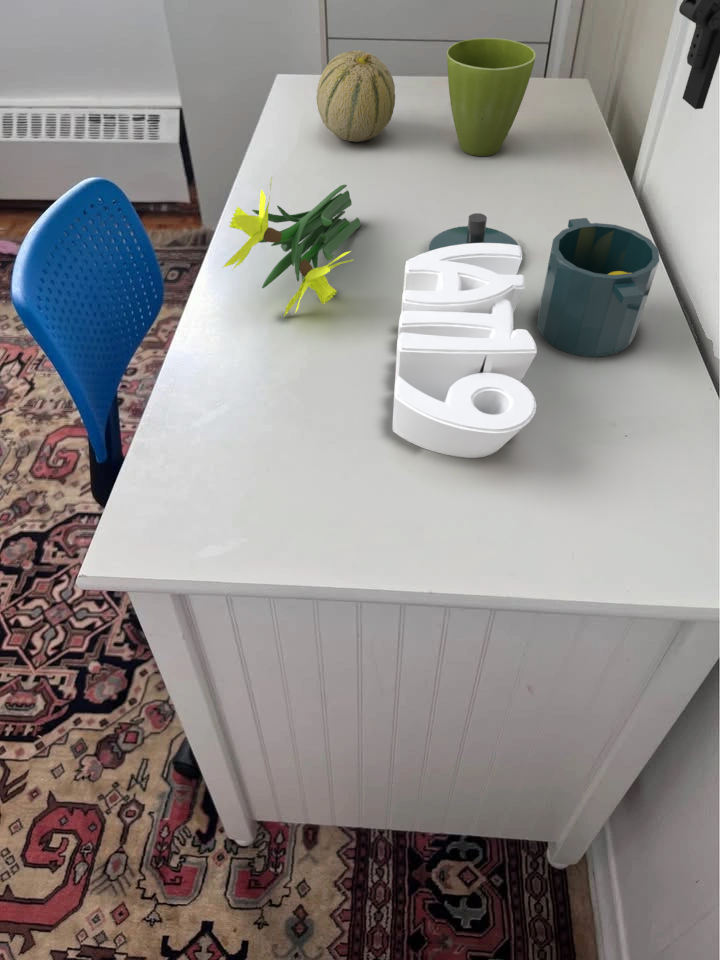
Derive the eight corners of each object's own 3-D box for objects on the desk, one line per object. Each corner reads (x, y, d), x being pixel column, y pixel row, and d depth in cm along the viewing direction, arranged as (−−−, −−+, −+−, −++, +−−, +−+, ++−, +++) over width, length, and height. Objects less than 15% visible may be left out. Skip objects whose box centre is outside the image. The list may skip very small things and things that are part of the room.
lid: (504, 229, 113) (509, 191, 109) (531, 276, 104) (538, 236, 100) (419, 237, 112) (421, 199, 108) (439, 285, 103) (442, 246, 99)
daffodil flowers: (407, 237, 114) (347, 308, 85) (331, 276, 120) (252, 354, 92) (357, 133, 108) (275, 172, 79) (280, 180, 114) (178, 231, 86)
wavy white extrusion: (406, 292, 102) (409, 223, 94) (524, 300, 100) (536, 230, 92) (373, 472, 79) (373, 401, 71) (525, 487, 77) (542, 415, 69)
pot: (604, 285, 102) (625, 208, 94) (658, 364, 90) (688, 284, 82) (519, 294, 101) (532, 218, 93) (562, 375, 89) (582, 296, 81)
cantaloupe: (334, 118, 143) (330, 33, 132) (404, 127, 140) (407, 40, 129) (306, 149, 134) (299, 60, 123) (380, 159, 131) (380, 69, 120)
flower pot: (534, 141, 135) (549, 46, 123) (502, 173, 126) (515, 74, 114) (461, 125, 140) (469, 32, 128) (426, 155, 132) (431, 58, 120)
